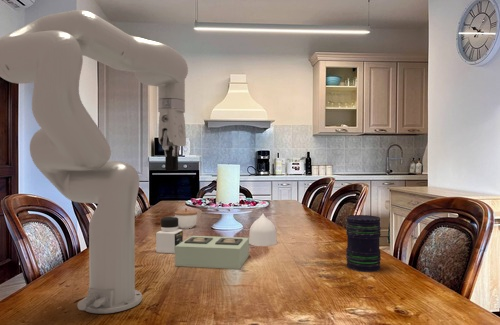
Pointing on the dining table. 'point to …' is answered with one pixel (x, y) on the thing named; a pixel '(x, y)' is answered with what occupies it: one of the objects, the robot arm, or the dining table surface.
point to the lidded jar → (186, 218)
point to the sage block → (212, 252)
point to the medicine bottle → (168, 235)
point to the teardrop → (262, 232)
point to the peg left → (199, 239)
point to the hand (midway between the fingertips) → (171, 170)
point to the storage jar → (363, 243)
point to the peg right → (229, 240)
